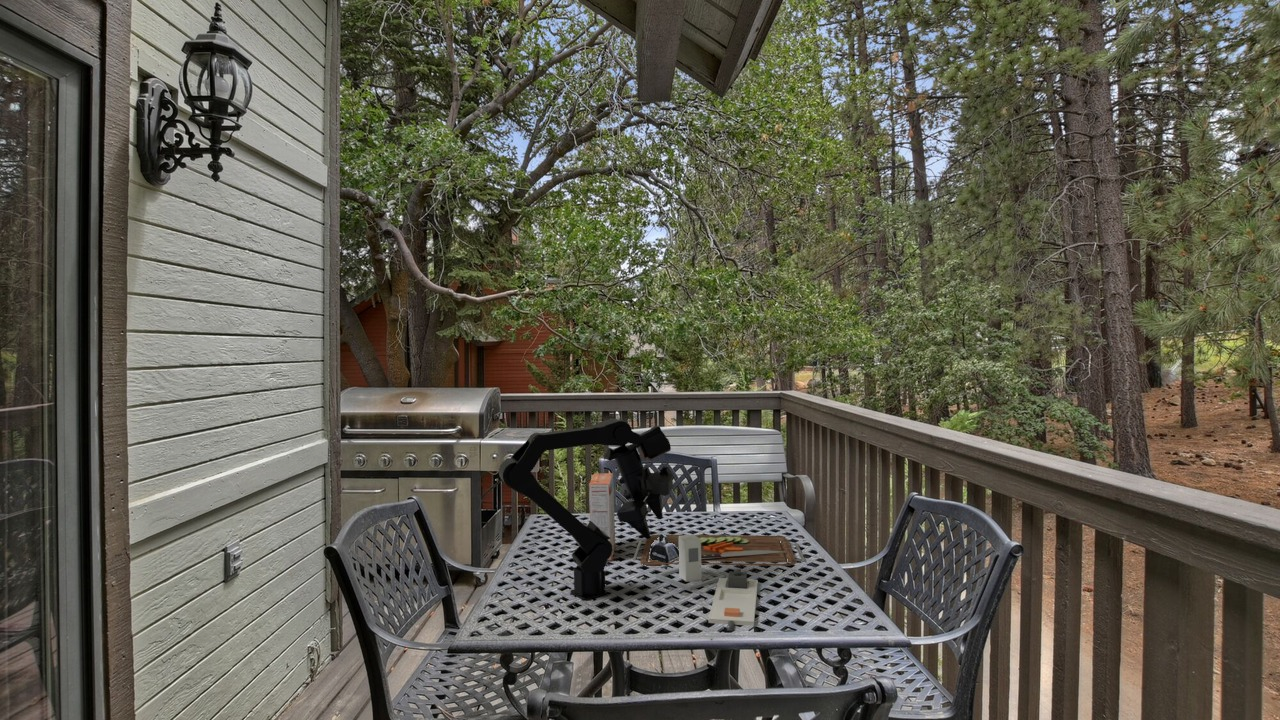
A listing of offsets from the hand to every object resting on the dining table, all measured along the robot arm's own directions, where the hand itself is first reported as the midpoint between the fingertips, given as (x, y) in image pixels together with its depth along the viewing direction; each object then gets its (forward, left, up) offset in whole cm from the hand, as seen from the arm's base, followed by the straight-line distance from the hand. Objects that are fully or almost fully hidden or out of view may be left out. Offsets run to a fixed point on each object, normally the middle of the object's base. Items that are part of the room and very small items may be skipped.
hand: (654, 528), depth 160 cm
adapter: (+7, -4, -13) cm, 15 cm away
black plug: (+11, -16, -12) cm, 23 cm away
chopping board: (+29, +7, -14) cm, 33 cm away
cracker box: (+4, +27, -13) cm, 31 cm away
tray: (+7, -4, -13) cm, 16 cm away
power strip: (+3, -23, -13) cm, 26 cm away
